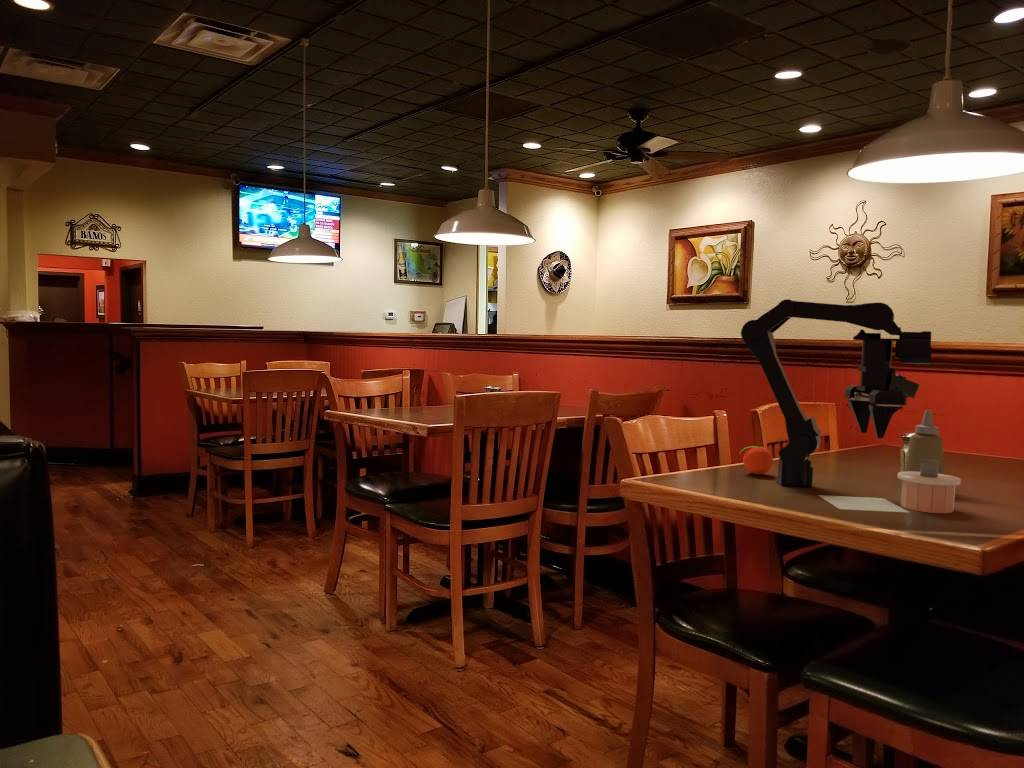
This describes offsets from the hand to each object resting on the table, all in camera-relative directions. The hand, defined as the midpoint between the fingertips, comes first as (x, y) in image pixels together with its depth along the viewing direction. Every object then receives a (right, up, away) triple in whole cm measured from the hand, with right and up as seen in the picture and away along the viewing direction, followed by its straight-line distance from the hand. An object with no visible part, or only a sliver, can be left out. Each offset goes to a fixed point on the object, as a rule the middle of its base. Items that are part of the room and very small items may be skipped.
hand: (871, 435), depth 165 cm
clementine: (-18, -11, +23) cm, 31 cm away
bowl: (+5, -14, -13) cm, 20 cm away
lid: (+5, -8, -13) cm, 16 cm away
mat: (-7, -14, -11) cm, 19 cm away
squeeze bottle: (+16, -13, +10) cm, 23 cm away
